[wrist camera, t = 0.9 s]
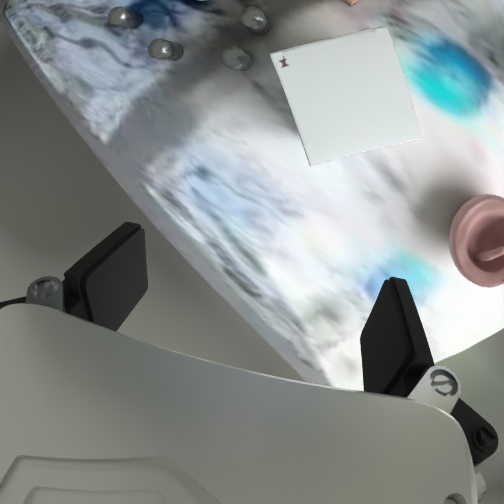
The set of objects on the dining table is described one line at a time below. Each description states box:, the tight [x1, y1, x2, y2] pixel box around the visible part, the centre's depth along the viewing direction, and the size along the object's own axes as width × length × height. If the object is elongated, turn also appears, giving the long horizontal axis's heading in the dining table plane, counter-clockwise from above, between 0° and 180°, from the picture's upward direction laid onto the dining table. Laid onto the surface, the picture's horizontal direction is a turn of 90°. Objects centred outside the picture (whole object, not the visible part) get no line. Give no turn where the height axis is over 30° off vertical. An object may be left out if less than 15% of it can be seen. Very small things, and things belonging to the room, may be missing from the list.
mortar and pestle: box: [449, 194, 504, 288], centre depth 31 cm, size 12×12×12 cm
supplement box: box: [270, 27, 421, 166], centre depth 26 cm, size 10×9×17 cm
